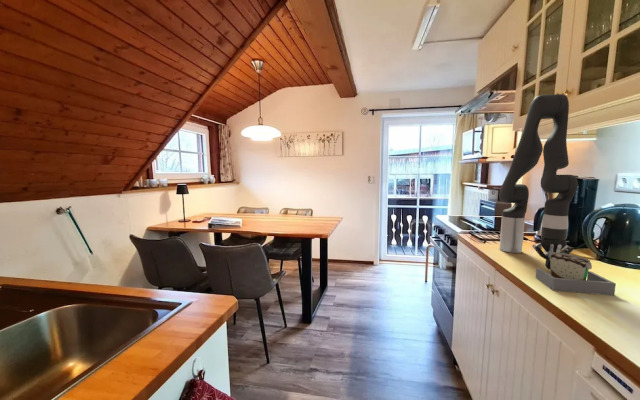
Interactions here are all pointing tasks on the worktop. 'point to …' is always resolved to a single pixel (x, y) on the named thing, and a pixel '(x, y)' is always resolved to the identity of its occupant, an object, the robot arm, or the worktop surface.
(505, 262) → the worktop surface
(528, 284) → the worktop surface
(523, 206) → the robot arm
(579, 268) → the food container
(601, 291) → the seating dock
